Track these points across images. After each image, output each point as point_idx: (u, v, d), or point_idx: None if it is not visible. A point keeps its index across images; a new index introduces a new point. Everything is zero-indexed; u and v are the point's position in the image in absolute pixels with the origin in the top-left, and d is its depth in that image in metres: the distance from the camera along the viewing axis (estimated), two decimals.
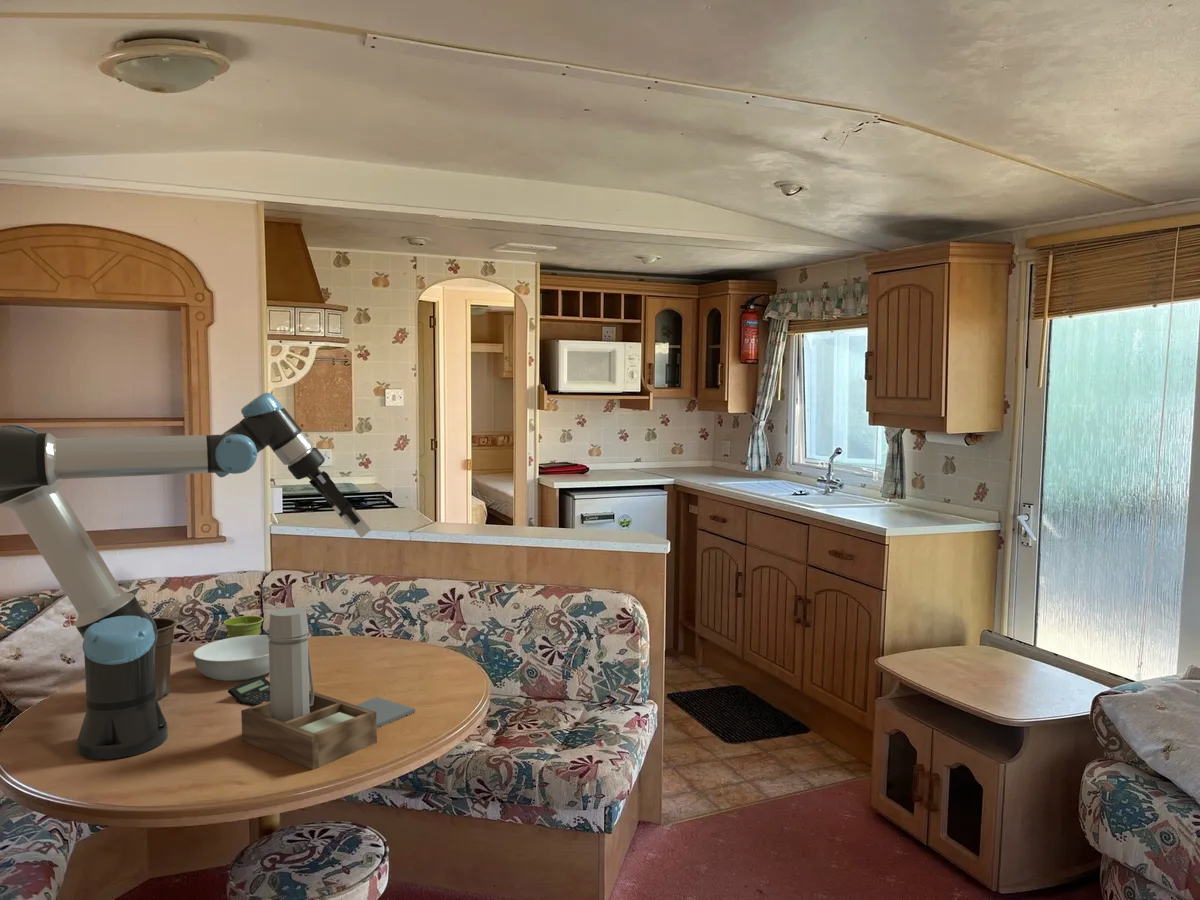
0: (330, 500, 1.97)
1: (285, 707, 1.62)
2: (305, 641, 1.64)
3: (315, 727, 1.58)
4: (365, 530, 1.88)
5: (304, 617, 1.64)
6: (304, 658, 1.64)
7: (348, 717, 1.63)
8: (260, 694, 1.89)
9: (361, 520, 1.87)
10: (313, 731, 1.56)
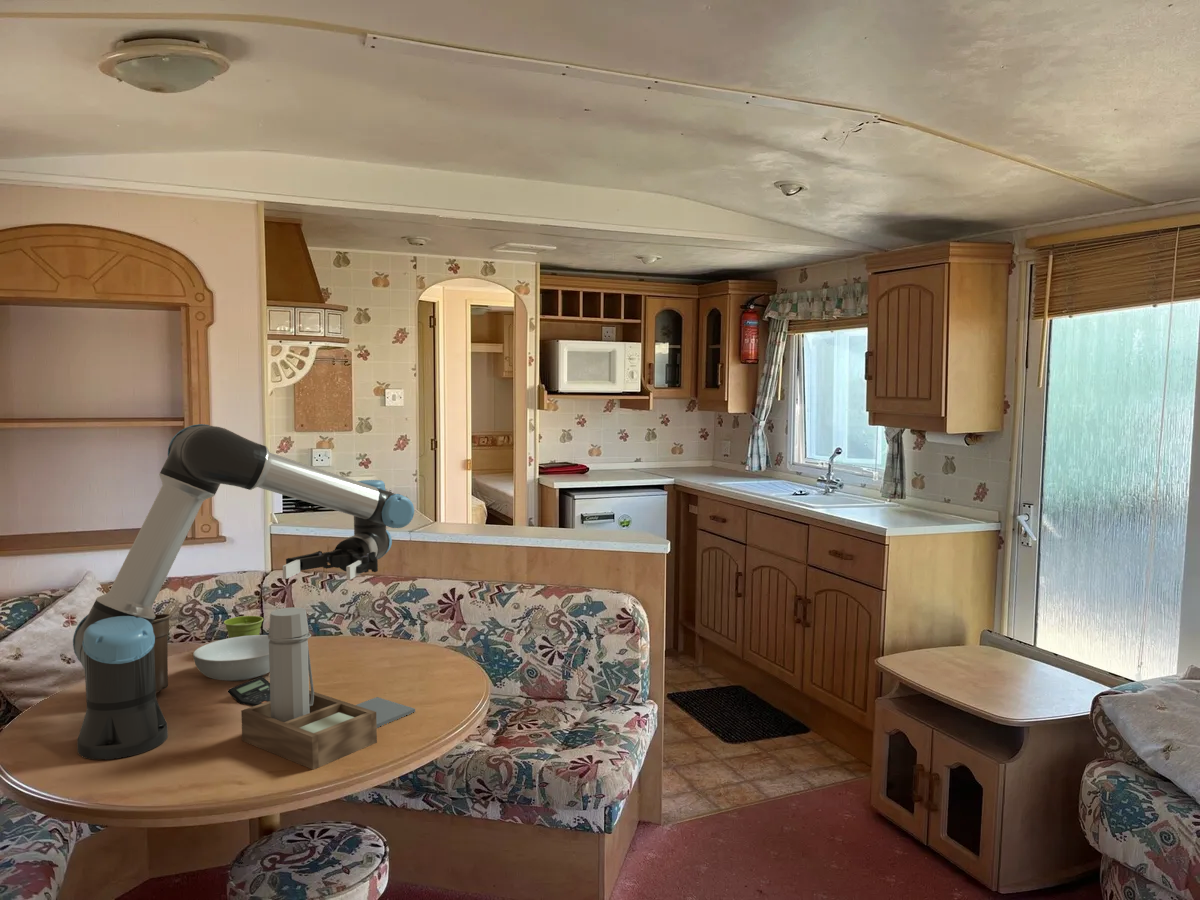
0: (305, 561, 1.84)
1: (285, 707, 1.62)
2: (305, 641, 1.64)
3: (315, 727, 1.58)
4: (351, 574, 1.75)
5: (304, 617, 1.64)
6: (304, 658, 1.64)
7: (347, 717, 1.63)
8: (260, 694, 1.89)
9: (355, 574, 1.77)
10: (313, 731, 1.56)
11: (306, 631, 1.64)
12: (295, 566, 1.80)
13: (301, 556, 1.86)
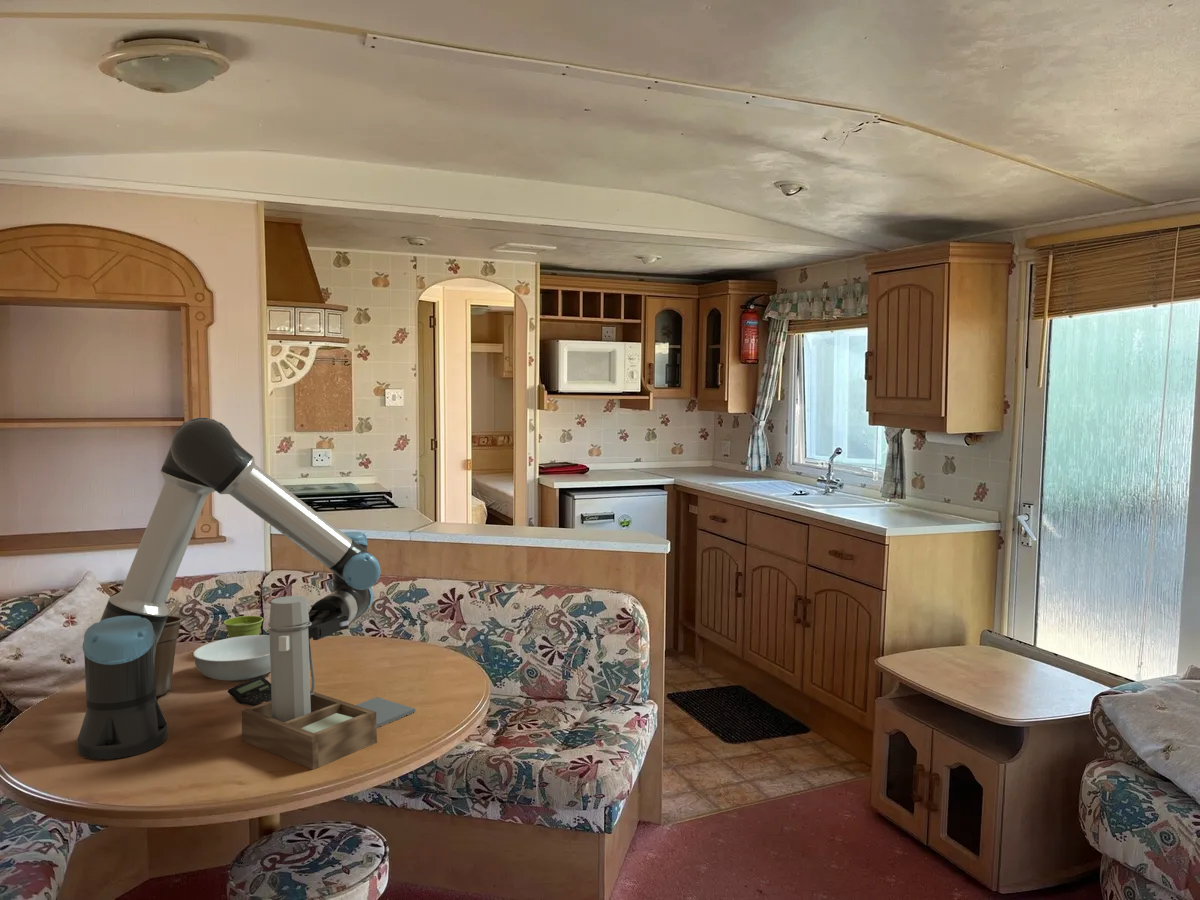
0: None
1: (286, 696, 1.62)
2: (306, 629, 1.64)
3: (315, 728, 1.57)
4: (288, 644, 1.61)
5: (304, 605, 1.64)
6: (305, 646, 1.64)
7: (346, 717, 1.63)
8: (260, 694, 1.89)
9: None
10: (314, 732, 1.55)
11: (307, 619, 1.64)
12: None
13: None
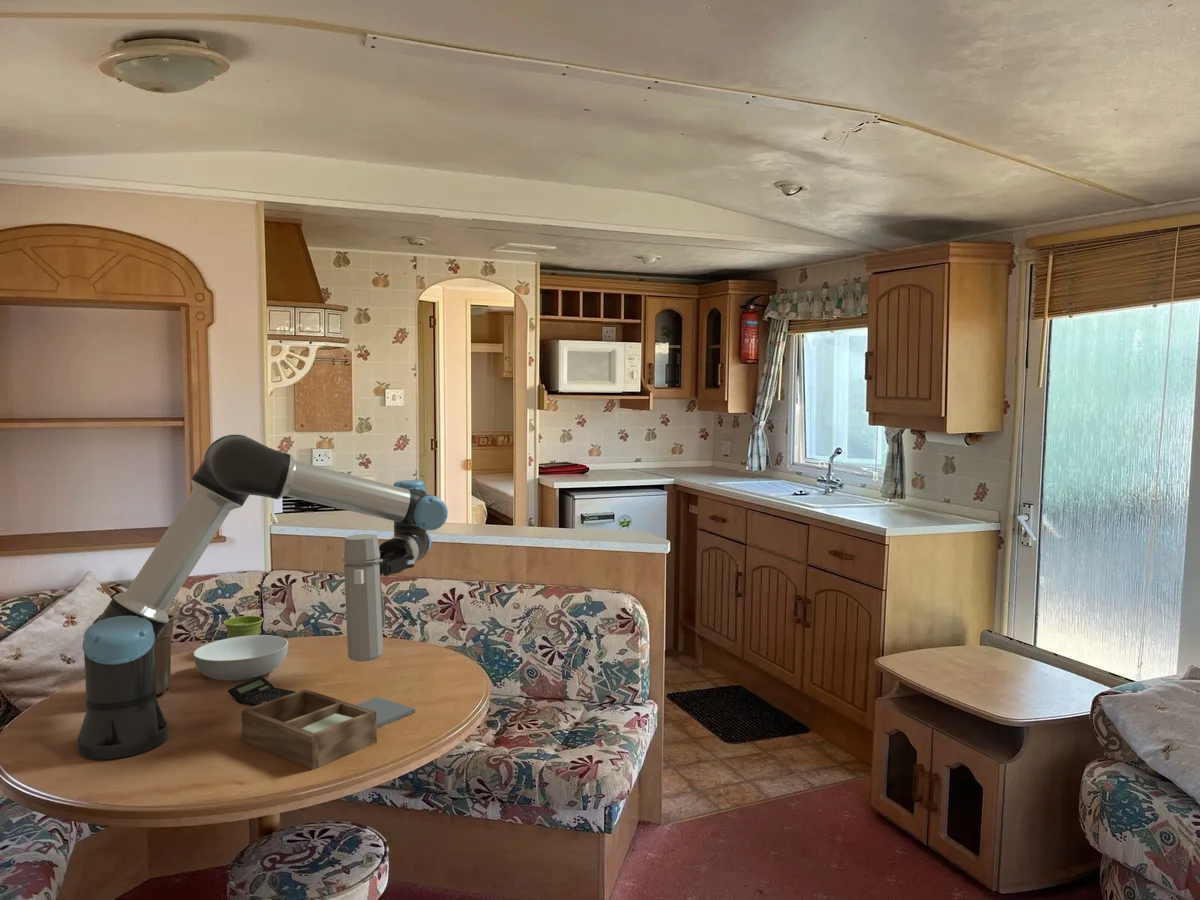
0: None
1: (361, 627, 1.71)
2: (378, 564, 1.73)
3: (315, 728, 1.57)
4: (362, 578, 1.70)
5: (376, 541, 1.73)
6: (377, 580, 1.73)
7: (346, 718, 1.62)
8: (260, 694, 1.89)
9: None
10: None
11: (378, 555, 1.73)
12: None
13: None
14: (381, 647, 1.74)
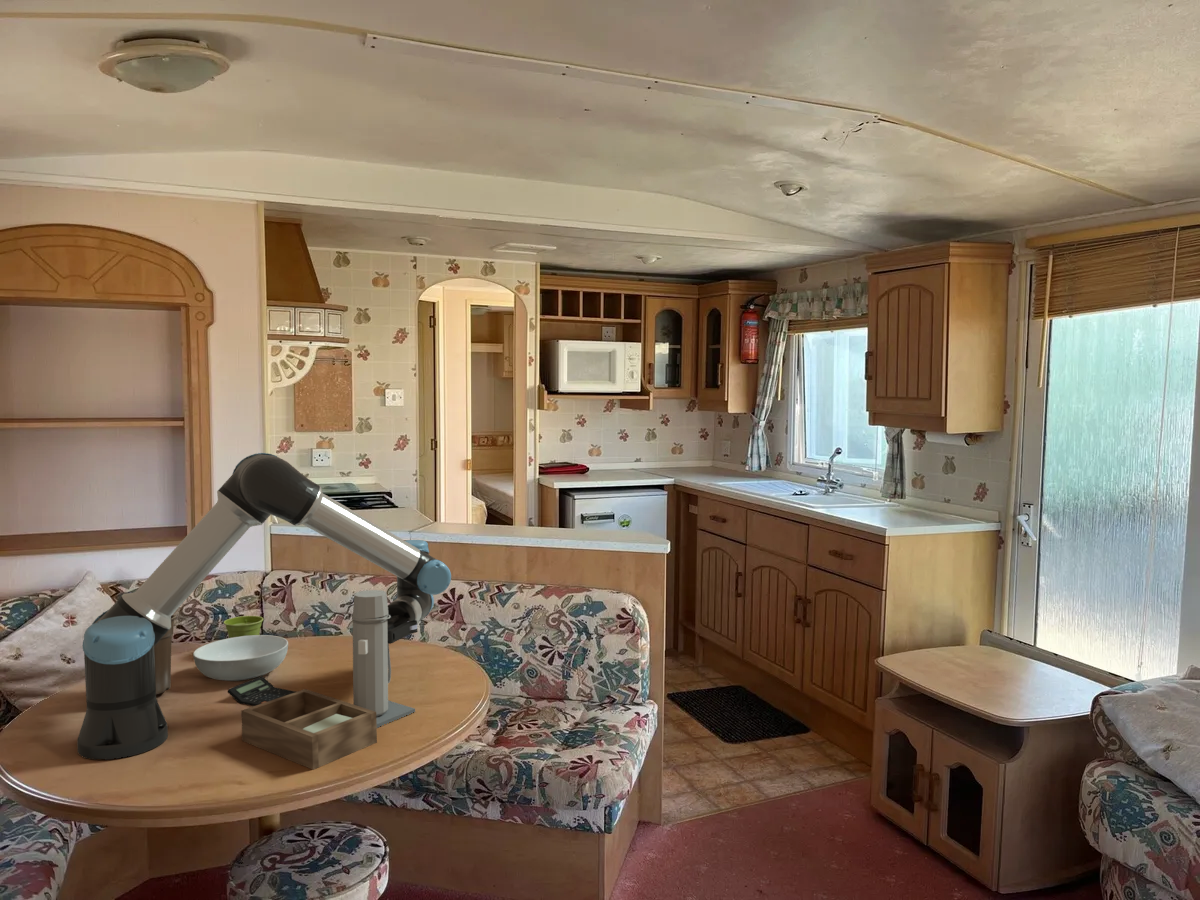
0: None
1: (367, 683, 1.73)
2: (386, 621, 1.75)
3: (315, 729, 1.57)
4: (366, 648, 1.71)
5: (385, 598, 1.75)
6: (385, 637, 1.75)
7: (346, 718, 1.62)
8: (260, 694, 1.89)
9: None
10: None
11: (387, 612, 1.75)
12: None
13: None
14: (386, 703, 1.76)
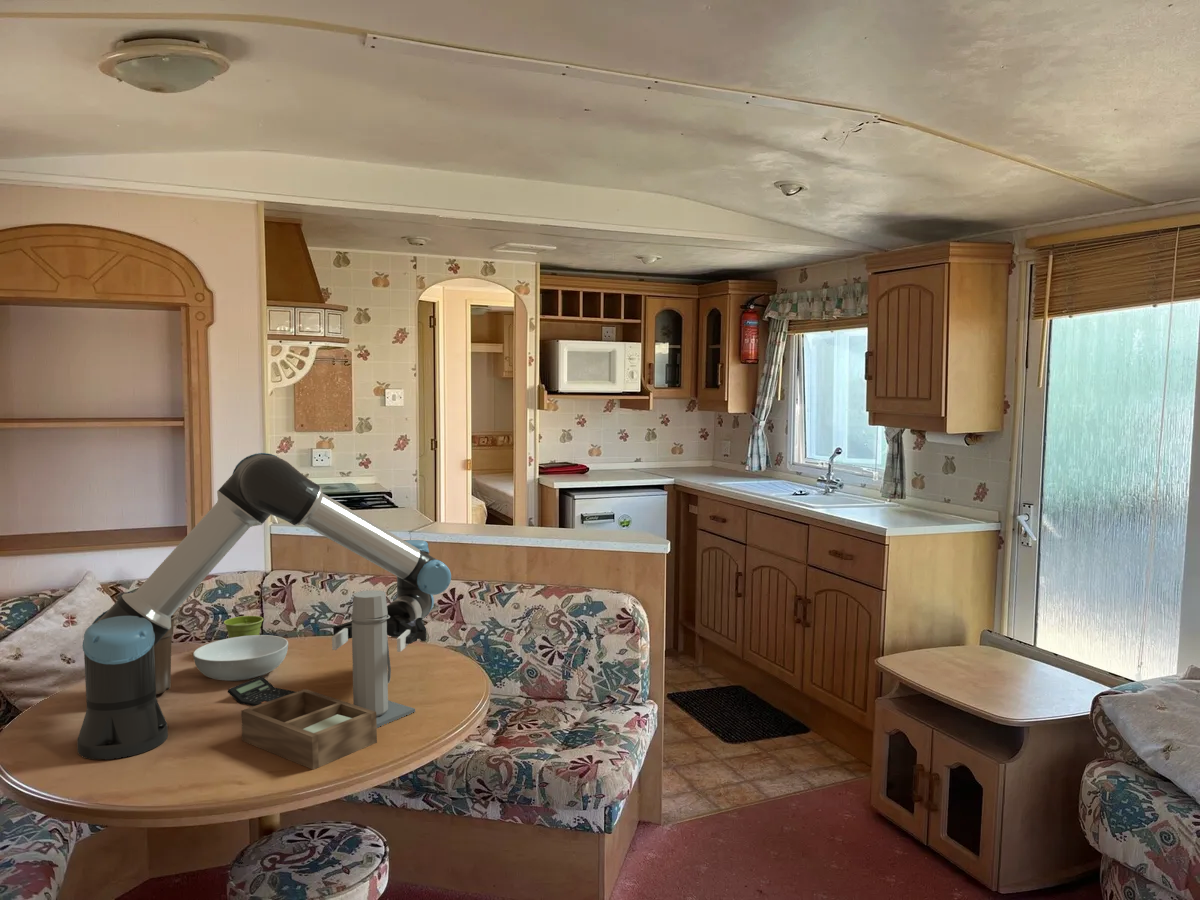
0: None
1: (367, 684, 1.73)
2: (385, 622, 1.75)
3: (315, 729, 1.57)
4: (401, 645, 1.73)
5: (384, 599, 1.74)
6: (384, 638, 1.75)
7: (347, 719, 1.62)
8: (260, 694, 1.89)
9: (405, 645, 1.76)
10: None
11: (386, 612, 1.75)
12: (343, 635, 1.78)
13: (348, 623, 1.84)
14: (386, 703, 1.76)
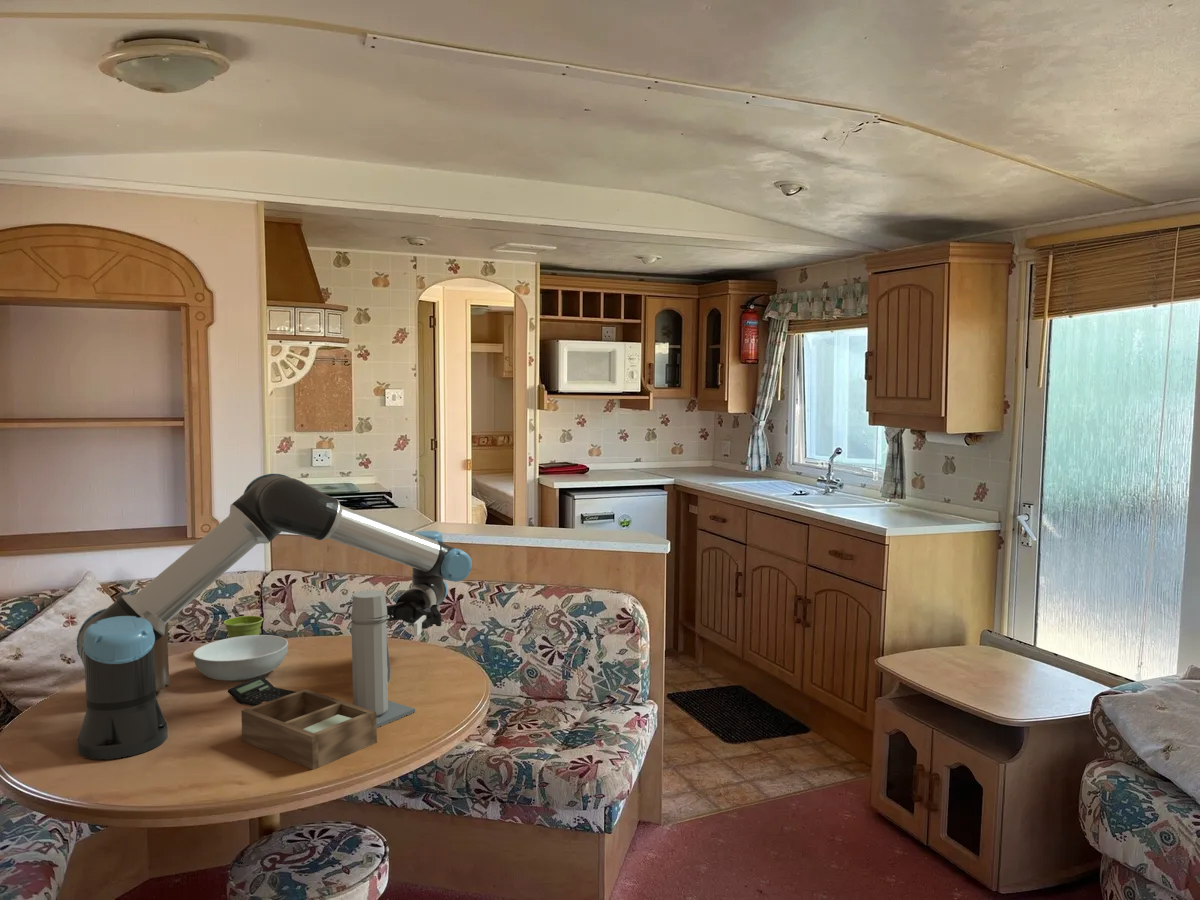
0: None
1: (367, 684, 1.73)
2: (385, 622, 1.75)
3: (315, 729, 1.57)
4: (418, 630, 1.82)
5: (384, 598, 1.74)
6: (384, 638, 1.75)
7: (347, 719, 1.62)
8: (260, 694, 1.89)
9: (421, 630, 1.85)
10: None
11: (386, 612, 1.75)
12: None
13: None
14: (386, 703, 1.76)
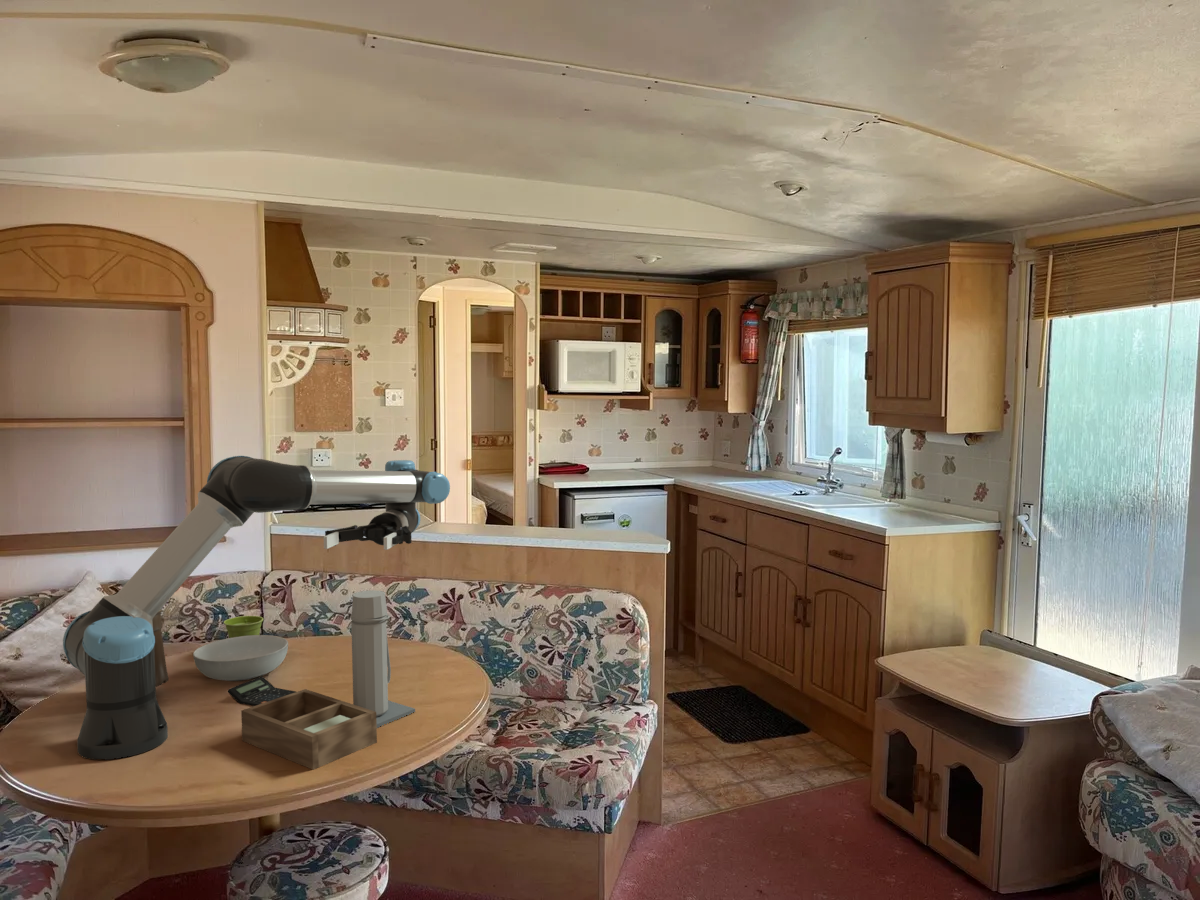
0: (343, 533, 1.96)
1: (367, 684, 1.73)
2: (385, 622, 1.75)
3: (315, 730, 1.57)
4: (388, 544, 1.87)
5: (384, 599, 1.74)
6: (384, 638, 1.75)
7: None
8: (260, 694, 1.89)
9: (391, 545, 1.90)
10: None
11: (386, 612, 1.75)
12: (334, 537, 1.92)
13: (339, 529, 1.98)
14: (386, 703, 1.76)
